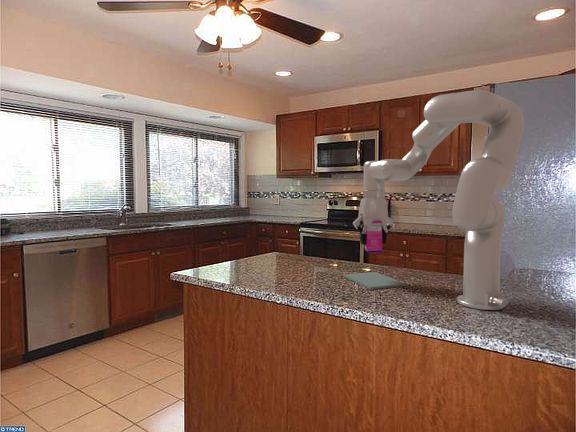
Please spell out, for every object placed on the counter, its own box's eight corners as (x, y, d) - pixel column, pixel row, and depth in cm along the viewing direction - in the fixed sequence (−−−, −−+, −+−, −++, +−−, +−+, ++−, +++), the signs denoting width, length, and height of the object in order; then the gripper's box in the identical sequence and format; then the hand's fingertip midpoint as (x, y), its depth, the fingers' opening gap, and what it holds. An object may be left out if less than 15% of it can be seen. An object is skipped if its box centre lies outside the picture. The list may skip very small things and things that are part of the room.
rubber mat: (405, 285, 134) (405, 283, 134) (370, 289, 129) (370, 287, 129) (375, 273, 153) (375, 271, 153) (343, 276, 148) (343, 274, 148)
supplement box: (364, 249, 143) (364, 219, 143) (380, 250, 143) (380, 219, 142) (365, 252, 138) (366, 220, 137) (382, 252, 137) (383, 220, 136)
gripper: (388, 194, 145) (388, 241, 146) (347, 195, 140) (347, 243, 141) (400, 195, 138) (399, 244, 139) (357, 195, 132) (357, 246, 134)
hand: (373, 243), depth 140 cm, fingers closed on supplement box, 7 cm apart
